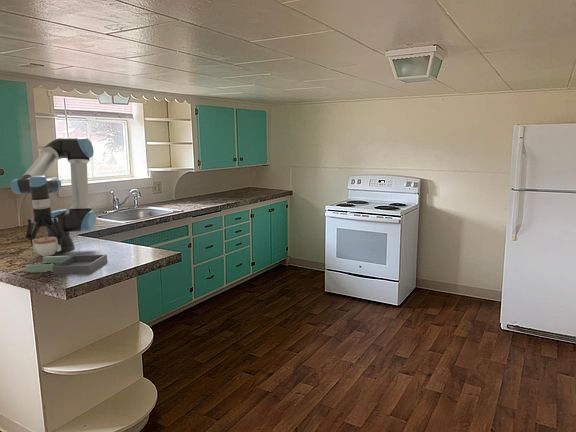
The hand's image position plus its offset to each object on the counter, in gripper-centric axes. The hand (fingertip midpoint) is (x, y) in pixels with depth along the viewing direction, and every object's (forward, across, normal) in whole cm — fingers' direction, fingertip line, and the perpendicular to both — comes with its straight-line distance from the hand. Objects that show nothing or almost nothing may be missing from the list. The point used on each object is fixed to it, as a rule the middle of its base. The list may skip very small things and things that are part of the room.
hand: (47, 251), depth 222 cm
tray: (+8, +18, -4) cm, 20 cm away
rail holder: (+8, 0, 0) cm, 8 cm away
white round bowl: (+2, 0, 0) cm, 2 cm away
